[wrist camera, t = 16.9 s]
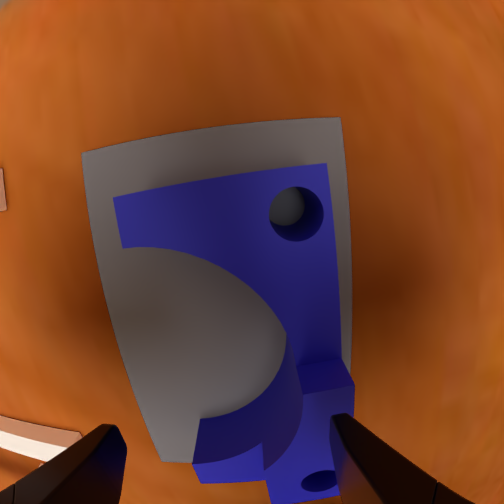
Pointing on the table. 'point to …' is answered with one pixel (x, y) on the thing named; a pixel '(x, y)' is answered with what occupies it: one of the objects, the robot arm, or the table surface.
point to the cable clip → (282, 304)
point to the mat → (204, 273)
